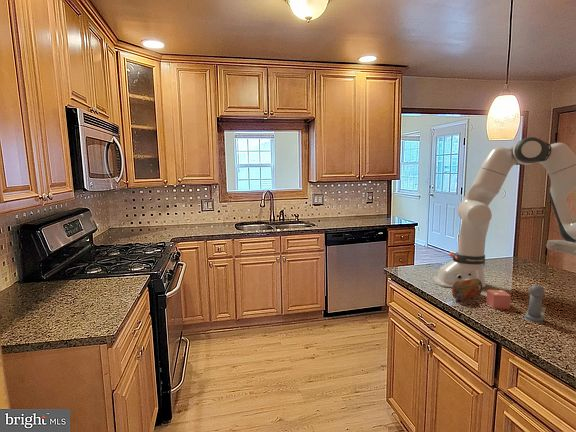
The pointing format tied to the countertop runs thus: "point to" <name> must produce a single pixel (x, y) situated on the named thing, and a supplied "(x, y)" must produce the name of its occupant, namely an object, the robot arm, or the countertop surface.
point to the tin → (466, 289)
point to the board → (541, 313)
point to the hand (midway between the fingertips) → (562, 250)
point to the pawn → (535, 304)
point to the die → (498, 299)
